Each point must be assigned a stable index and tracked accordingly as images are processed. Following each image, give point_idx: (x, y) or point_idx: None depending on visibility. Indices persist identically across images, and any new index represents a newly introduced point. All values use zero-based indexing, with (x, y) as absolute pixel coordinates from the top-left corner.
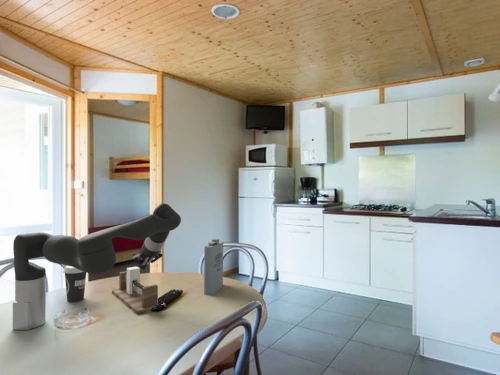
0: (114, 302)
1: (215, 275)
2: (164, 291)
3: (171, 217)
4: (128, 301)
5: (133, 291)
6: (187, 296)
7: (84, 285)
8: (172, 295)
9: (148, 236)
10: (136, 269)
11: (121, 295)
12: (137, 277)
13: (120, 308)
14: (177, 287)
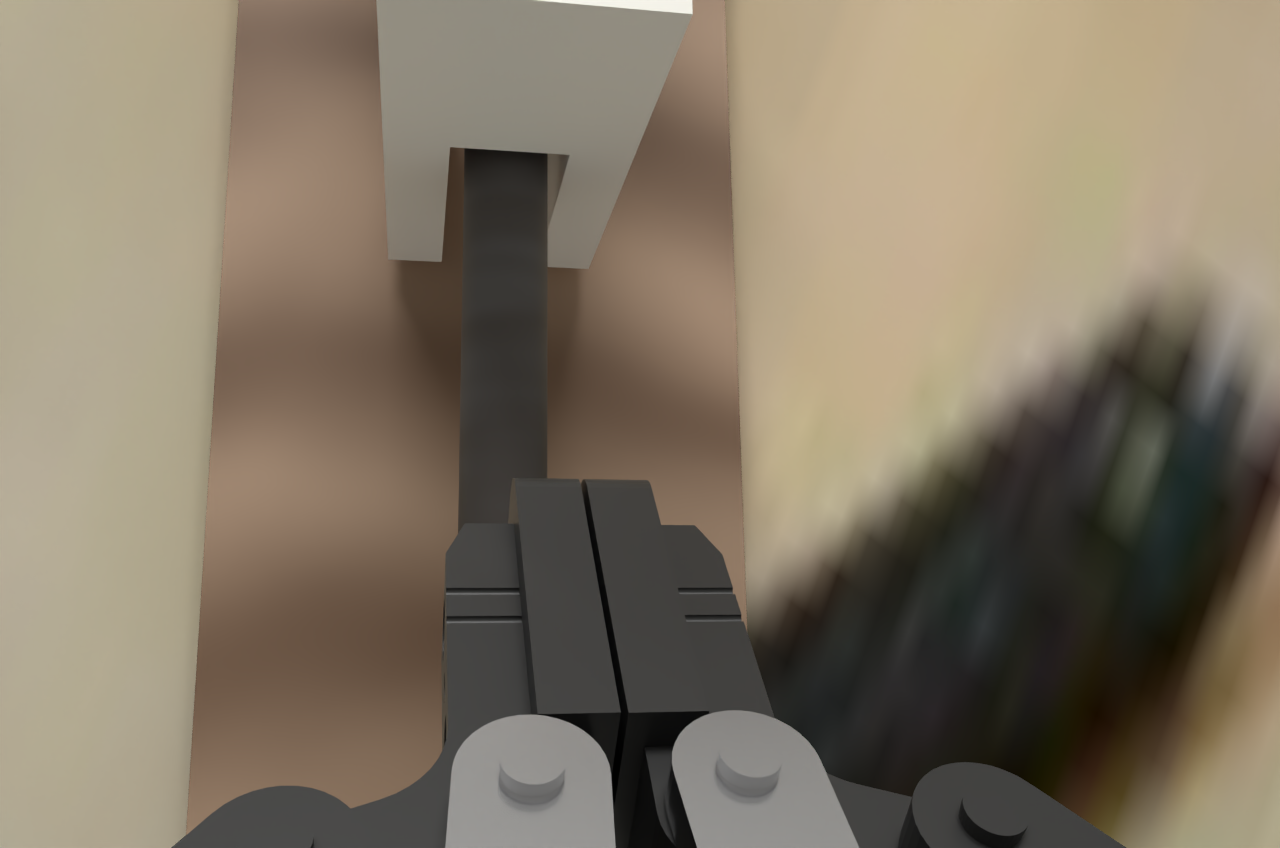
0: (106, 280)
1: None
2: (1024, 306)
3: None
4: (245, 561)
5: None
6: (1262, 799)
7: None
8: (1067, 585)
9: None
10: (583, 15)
11: (272, 160)
12: (581, 132)
13: (66, 647)
14: (1270, 260)
